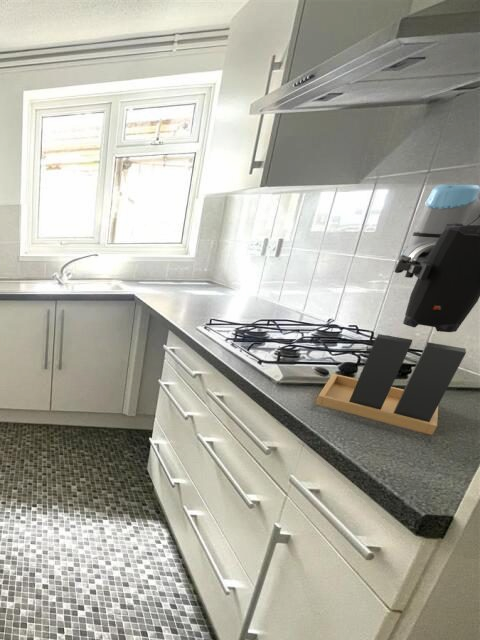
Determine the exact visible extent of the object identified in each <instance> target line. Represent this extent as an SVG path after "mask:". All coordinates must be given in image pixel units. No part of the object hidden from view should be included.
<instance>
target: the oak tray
mask: <svg viewBox="0 0 480 640" xmlns="http://www.w3.org/2000/svg"><path fill="white" fill-rule="evenodd" d="M358 380H359V378H355V377H350V376H345V375H341V374H337V373H332V375H331V376H330V378H329V379H328V381H327V382H326V384H325V385H324V386H323V388H322V389H321V391H320V393H319V394H318V396H317V398H316V401H315V405H318V406H320V407H321V406H322V407H325V408H329V409H333V410H337V411H341V412H345V413H348V414H351V415H355V416H360V417H363V418H367V419H369V420H374V421H378V422H381V423H385V424H388V425H393V426H396V427H400V428H404V429H407V430H411V431H415V432H419V433H422V434H426V435H430V436H433V435H434V433H435V431H436V429H437V427H438V421H439V419H438V418H439V417H438V416H439V406H438V407H437V409H436V410H435V412H434V414H433V416H432V418H431V420H430V422H426V421H422V420H419V419H415V418H411V417H407V416H403V415H399V414H395V413H393V412H394V410H395V408H396V406H397V404H398V402H399V399H400V397H401V395H402V393H403V391H404V389H405V388H399V387H394V386H392V387H391V389H390V391H389V393H388V395H387V397H386V399H385V401H384V404H383V406H382V408H381V410H379V409H375V408H372V407H368V406H364V405H360V404H356V403H352V402H349V401H350V398H351V396H352V394H353V391H354V389H355V387H356V384H357V382H358Z"/></svg>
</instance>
